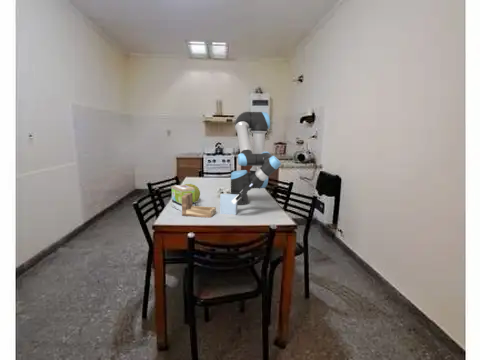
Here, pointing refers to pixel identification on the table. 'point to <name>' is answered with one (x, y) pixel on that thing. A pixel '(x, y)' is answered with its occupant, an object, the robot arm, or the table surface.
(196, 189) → the fruit
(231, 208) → the pale blue rectangular block
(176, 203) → the tea box
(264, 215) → the table surface
